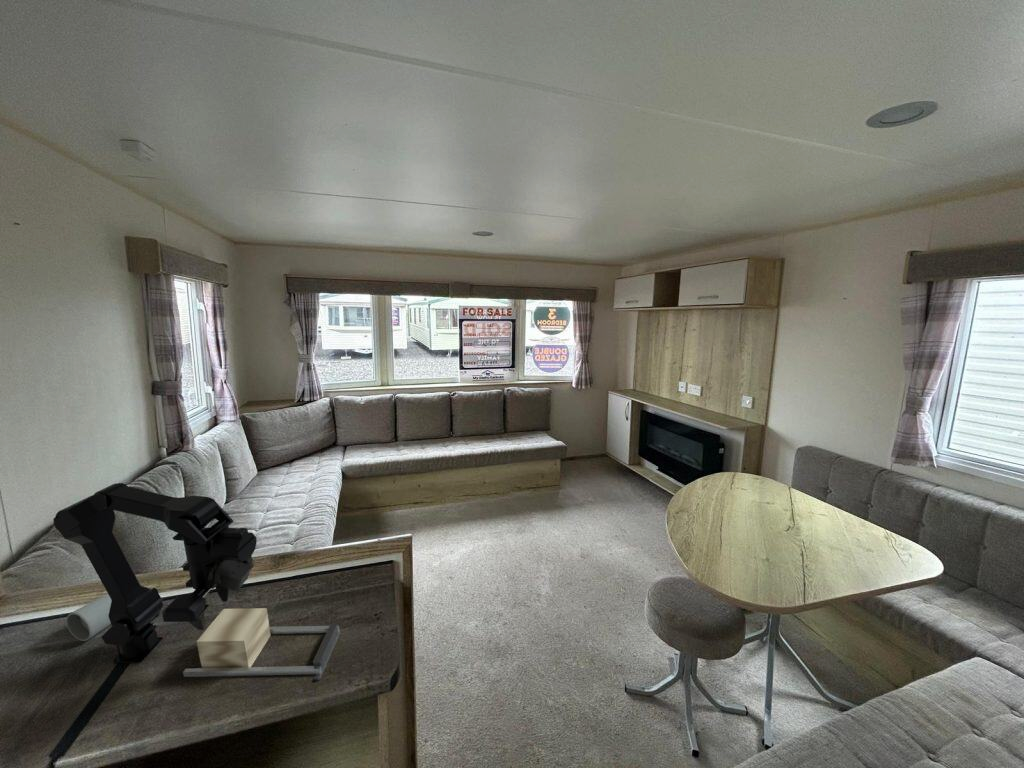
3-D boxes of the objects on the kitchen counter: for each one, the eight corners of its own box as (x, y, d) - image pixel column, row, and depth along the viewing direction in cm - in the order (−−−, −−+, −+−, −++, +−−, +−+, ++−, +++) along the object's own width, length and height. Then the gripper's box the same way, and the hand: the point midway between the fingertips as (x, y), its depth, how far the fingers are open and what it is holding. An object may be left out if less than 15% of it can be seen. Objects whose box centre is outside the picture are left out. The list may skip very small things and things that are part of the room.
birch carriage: (202, 670, 89) (196, 641, 87) (228, 636, 97) (223, 608, 95) (249, 669, 89) (244, 640, 87) (270, 635, 98) (266, 608, 96)
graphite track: (183, 683, 87) (180, 668, 86) (221, 634, 99) (218, 621, 98) (319, 680, 89) (318, 665, 88) (340, 632, 101) (339, 619, 100)
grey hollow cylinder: (130, 617, 103) (124, 592, 102) (92, 644, 96) (85, 617, 94) (99, 610, 106) (92, 585, 104) (59, 636, 98) (51, 609, 96)
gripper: (213, 586, 78) (224, 651, 82) (265, 529, 96) (272, 584, 100) (153, 587, 78) (167, 651, 81) (217, 529, 96) (226, 584, 99)
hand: (213, 614), depth 91 cm, fingers open, 8 cm apart
